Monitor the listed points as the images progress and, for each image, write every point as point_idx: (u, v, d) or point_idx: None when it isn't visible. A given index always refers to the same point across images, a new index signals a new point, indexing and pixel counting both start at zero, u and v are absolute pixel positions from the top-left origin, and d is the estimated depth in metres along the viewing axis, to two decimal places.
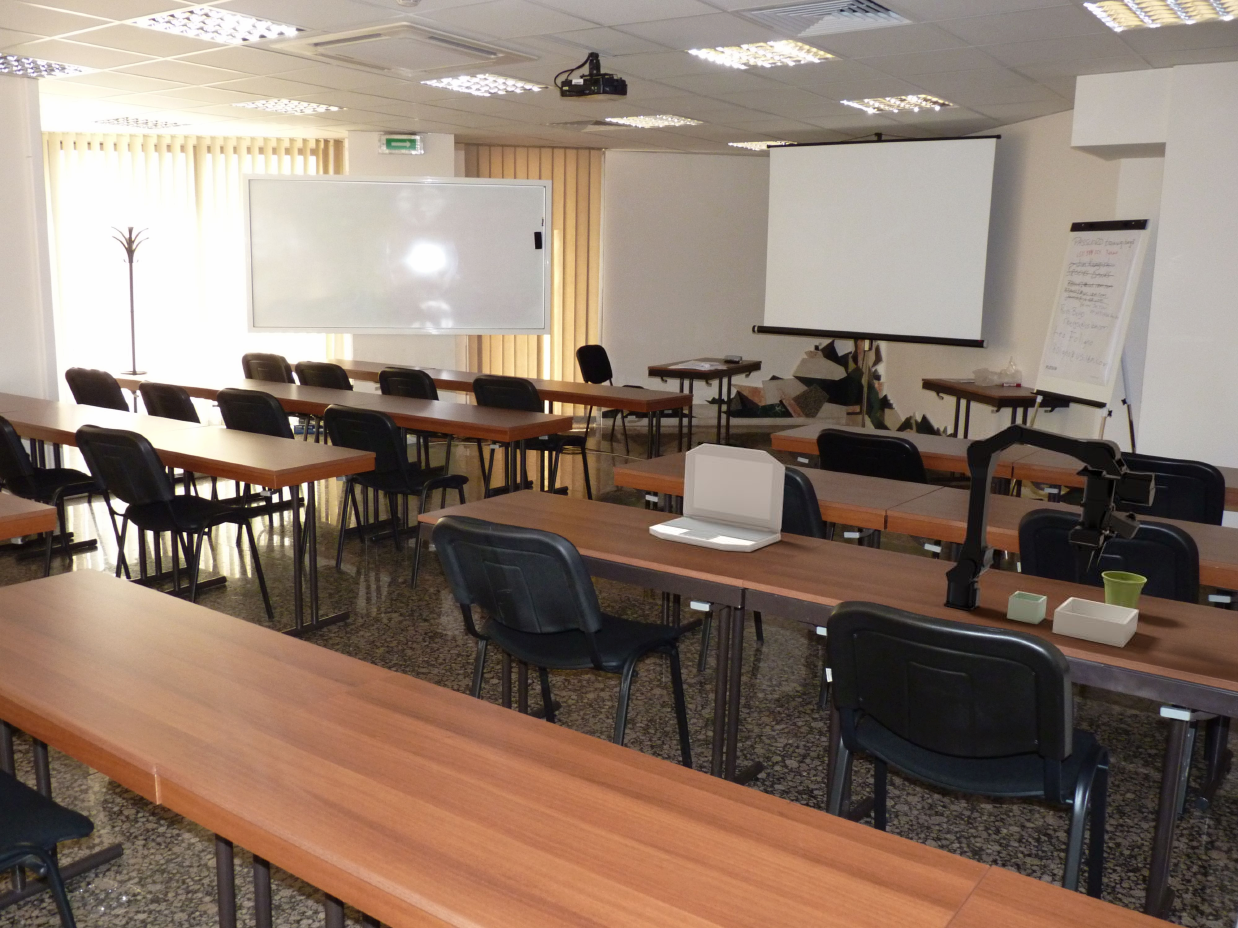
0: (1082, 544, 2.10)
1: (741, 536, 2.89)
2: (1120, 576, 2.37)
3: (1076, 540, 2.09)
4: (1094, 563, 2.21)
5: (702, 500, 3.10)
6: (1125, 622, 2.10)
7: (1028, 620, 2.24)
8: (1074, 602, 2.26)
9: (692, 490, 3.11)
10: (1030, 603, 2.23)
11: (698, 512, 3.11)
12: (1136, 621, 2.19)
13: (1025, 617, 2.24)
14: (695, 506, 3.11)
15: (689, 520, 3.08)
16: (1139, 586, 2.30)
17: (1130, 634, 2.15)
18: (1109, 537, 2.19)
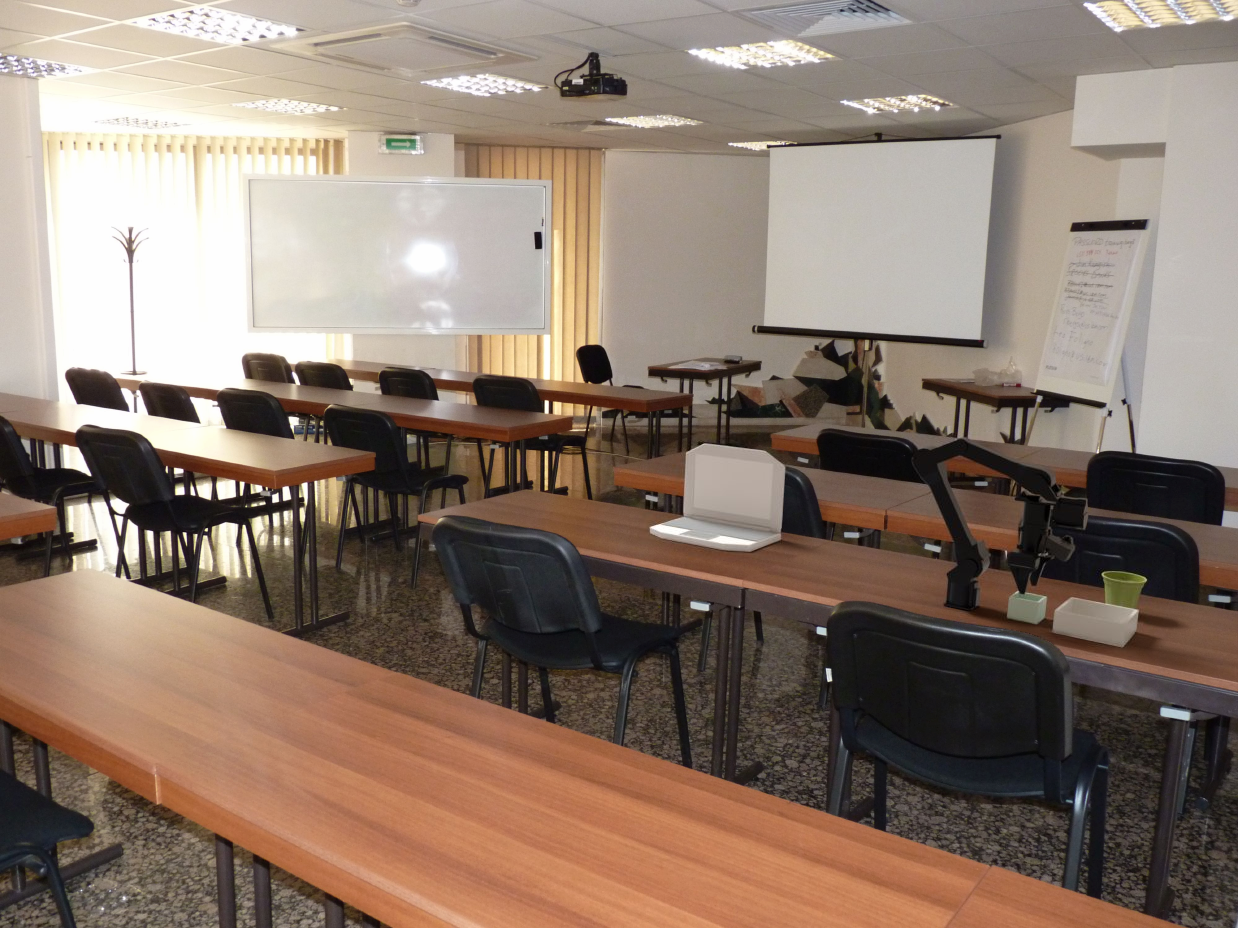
0: (1019, 567, 2.19)
1: (741, 536, 2.89)
2: (1120, 576, 2.37)
3: (1013, 563, 2.18)
4: (1034, 584, 2.30)
5: (702, 500, 3.10)
6: (1125, 622, 2.10)
7: (1028, 620, 2.24)
8: (1074, 602, 2.26)
9: (692, 490, 3.11)
10: (1030, 603, 2.23)
11: (698, 512, 3.11)
12: (1136, 621, 2.19)
13: (1025, 617, 2.24)
14: (695, 506, 3.11)
15: (689, 520, 3.09)
16: (1139, 586, 2.30)
17: (1130, 634, 2.15)
18: (1047, 559, 2.28)
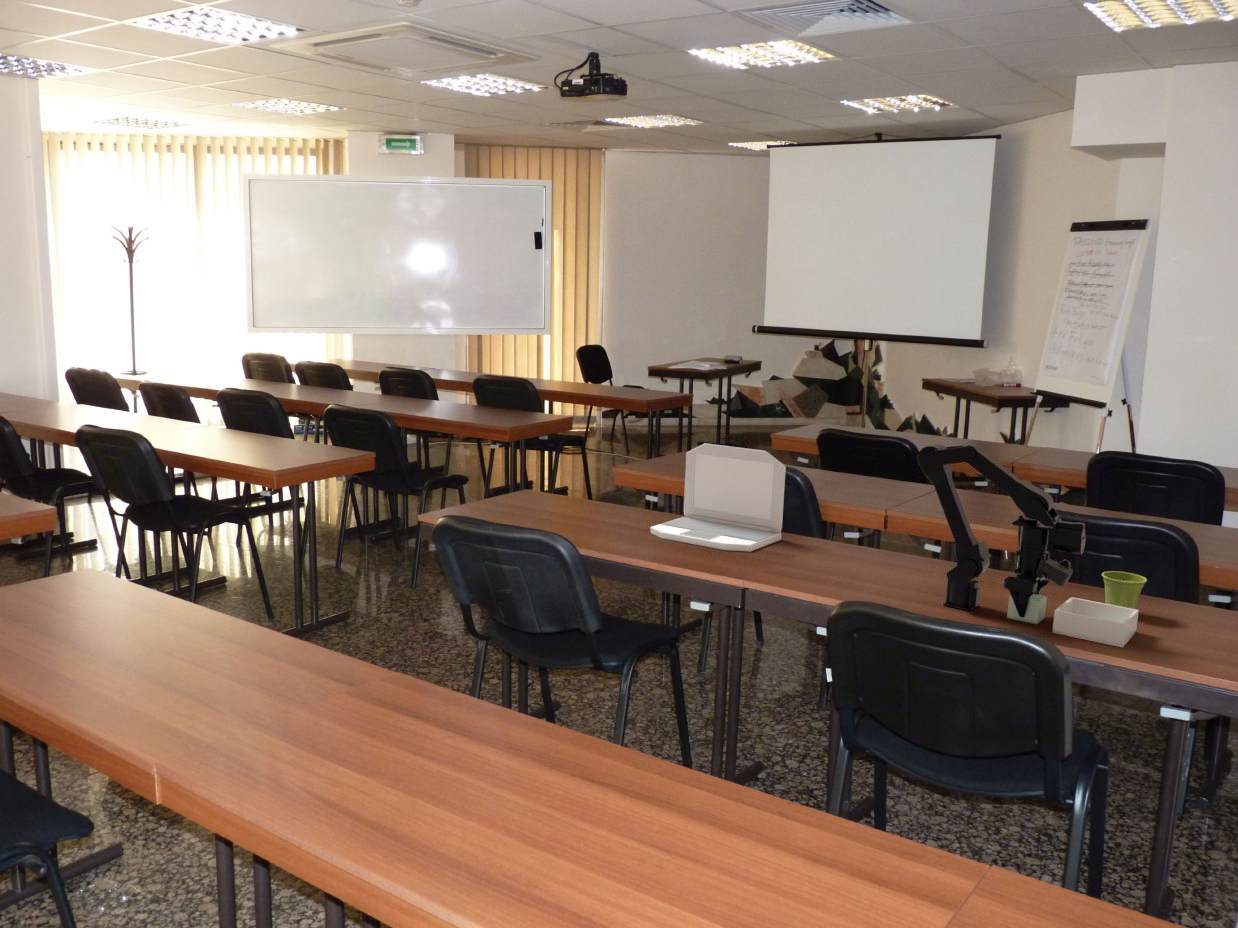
0: (1019, 590, 2.21)
1: (742, 536, 2.90)
2: (1120, 576, 2.37)
3: (1011, 588, 2.19)
4: None
5: (703, 500, 3.10)
6: (1125, 622, 2.10)
7: (1028, 620, 2.24)
8: (1074, 602, 2.26)
9: (693, 490, 3.11)
10: (1030, 603, 2.23)
11: (699, 512, 3.11)
12: (1136, 621, 2.19)
13: (1025, 617, 2.24)
14: (696, 506, 3.12)
15: (690, 520, 3.09)
16: (1139, 586, 2.30)
17: (1130, 634, 2.15)
18: (1044, 584, 2.28)
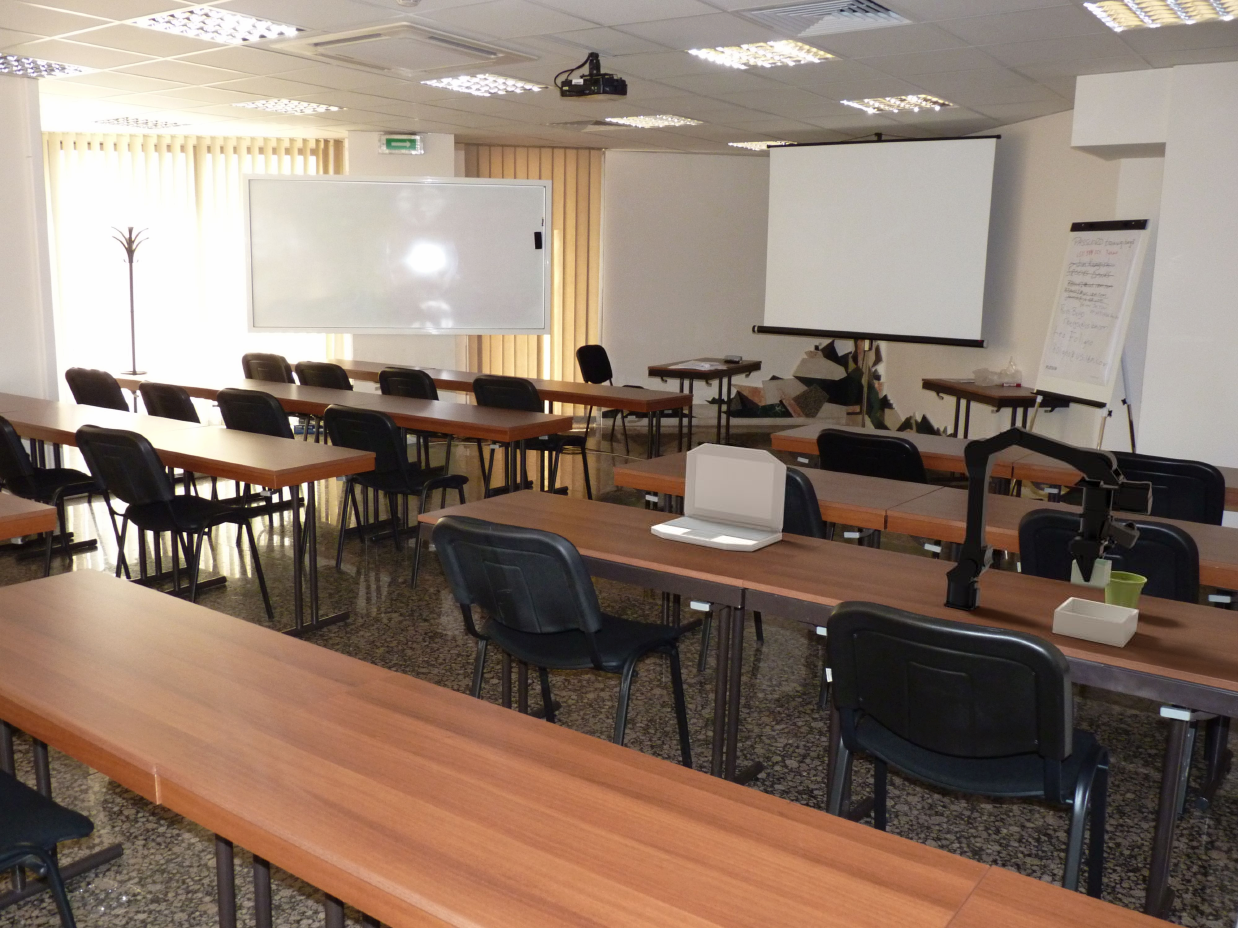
0: (1084, 554, 2.12)
1: (743, 536, 2.90)
2: (1120, 576, 2.37)
3: (1076, 551, 2.10)
4: None
5: (703, 500, 3.10)
6: (1125, 622, 2.10)
7: (1093, 585, 2.15)
8: (1074, 602, 2.26)
9: (693, 490, 3.12)
10: (1095, 567, 2.14)
11: (699, 512, 3.11)
12: (1136, 621, 2.19)
13: (1090, 582, 2.15)
14: (696, 506, 3.12)
15: (690, 520, 3.09)
16: (1139, 586, 2.30)
17: (1130, 634, 2.15)
18: (1108, 548, 2.19)
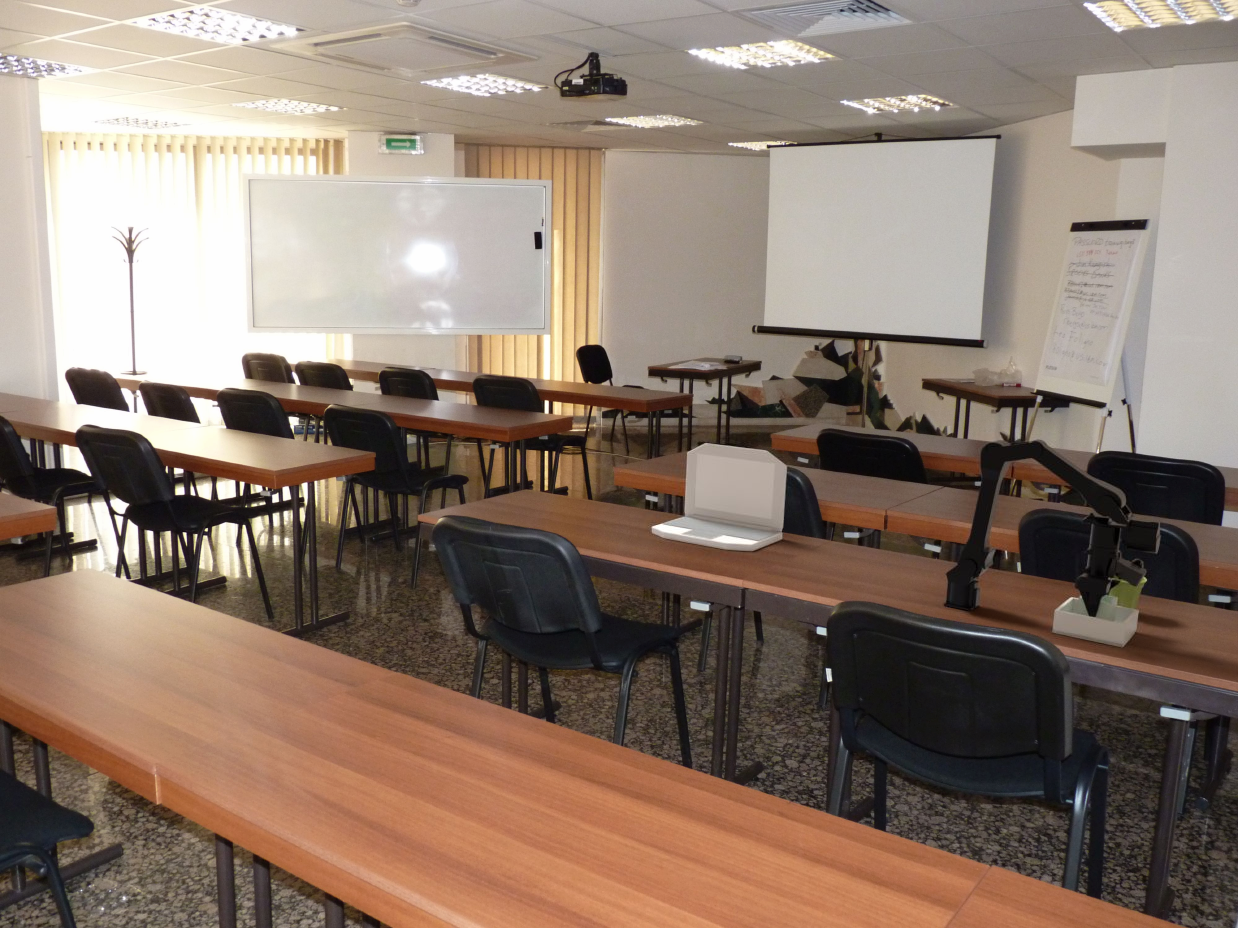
0: (1090, 591, 2.12)
1: (743, 535, 2.90)
2: None
3: (1083, 588, 2.10)
4: None
5: (704, 500, 3.10)
6: (1125, 622, 2.10)
7: None
8: (1074, 602, 2.26)
9: (693, 490, 3.12)
10: (1102, 604, 2.14)
11: (700, 512, 3.11)
12: (1136, 621, 2.19)
13: None
14: (696, 506, 3.12)
15: (691, 520, 3.09)
16: (1139, 586, 2.30)
17: (1130, 634, 2.15)
18: (1114, 584, 2.19)
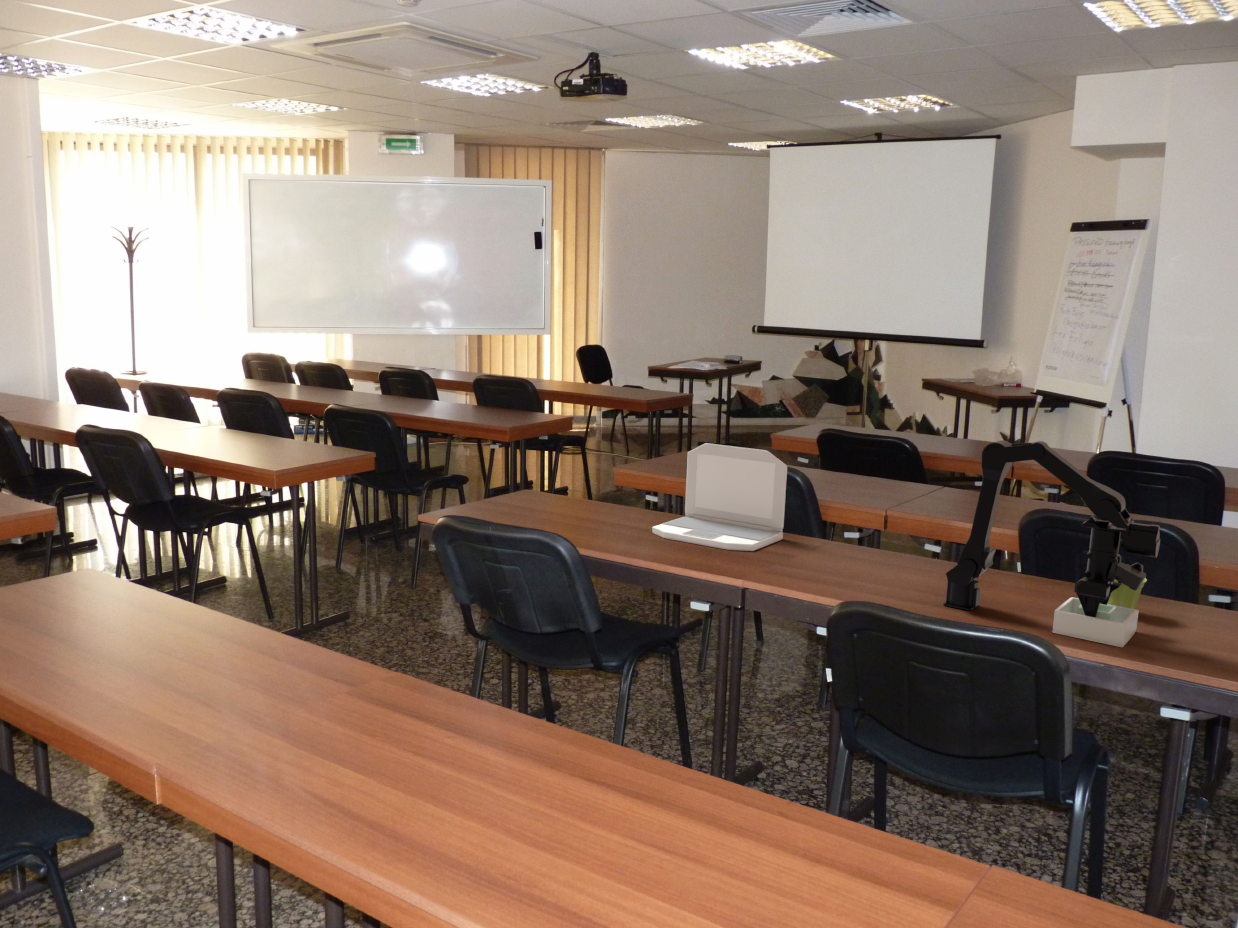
0: (1088, 596, 2.11)
1: (744, 535, 2.90)
2: None
3: (1082, 592, 2.10)
4: None
5: (704, 500, 3.11)
6: (1125, 622, 2.10)
7: None
8: (1074, 602, 2.26)
9: (694, 490, 3.12)
10: (1101, 613, 2.14)
11: (700, 512, 3.12)
12: (1136, 621, 2.19)
13: None
14: (697, 505, 3.12)
15: (691, 519, 3.09)
16: None
17: (1130, 634, 2.15)
18: (1115, 587, 2.20)
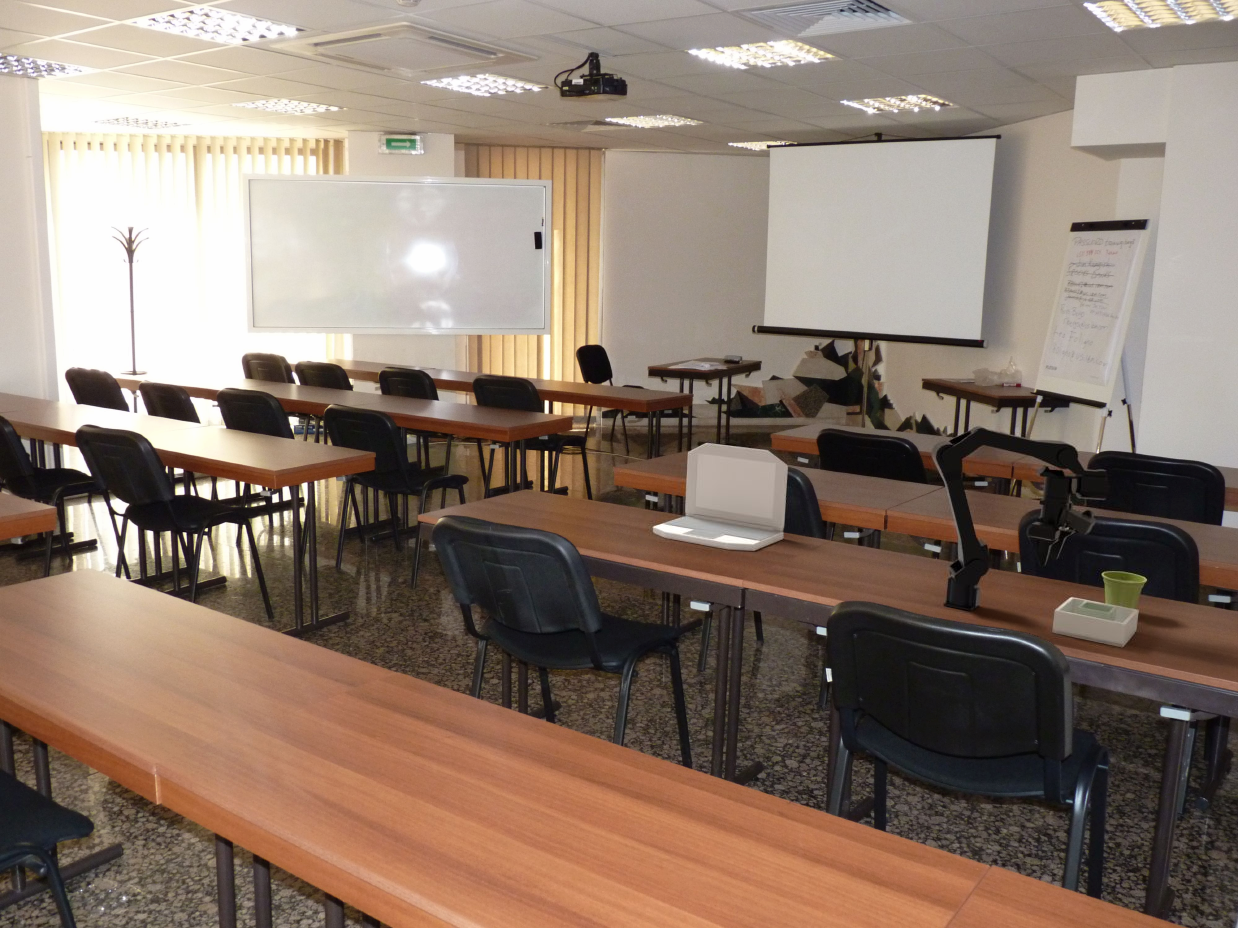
0: (1039, 539, 2.24)
1: (745, 535, 2.91)
2: (1120, 576, 2.37)
3: (1033, 535, 2.23)
4: (1054, 558, 2.34)
5: (704, 499, 3.11)
6: (1125, 622, 2.10)
7: None
8: (1074, 602, 2.26)
9: (694, 489, 3.12)
10: (1101, 613, 2.14)
11: (700, 512, 3.12)
12: (1136, 621, 2.19)
13: None
14: (697, 505, 3.12)
15: (691, 519, 3.10)
16: (1139, 586, 2.30)
17: (1130, 634, 2.15)
18: (1068, 533, 2.32)
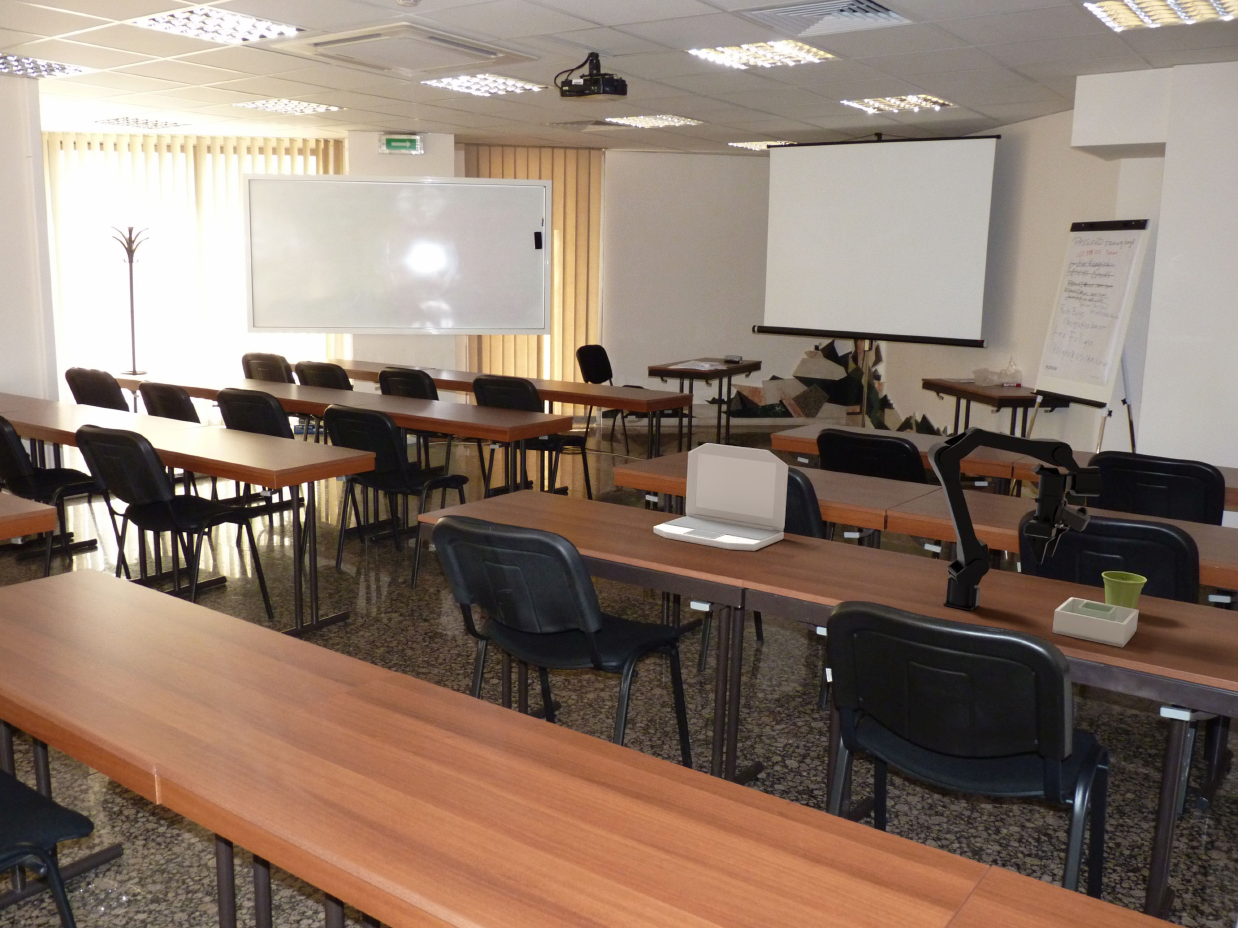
0: (1036, 537, 2.25)
1: (745, 535, 2.91)
2: (1120, 576, 2.37)
3: (1030, 533, 2.24)
4: (1050, 555, 2.36)
5: (705, 499, 3.11)
6: (1125, 622, 2.10)
7: None
8: (1074, 602, 2.26)
9: (695, 489, 3.12)
10: (1101, 613, 2.14)
11: (701, 512, 3.12)
12: (1136, 621, 2.19)
13: None
14: (698, 505, 3.13)
15: (692, 519, 3.10)
16: (1139, 586, 2.30)
17: (1130, 634, 2.15)
18: (1063, 530, 2.34)
